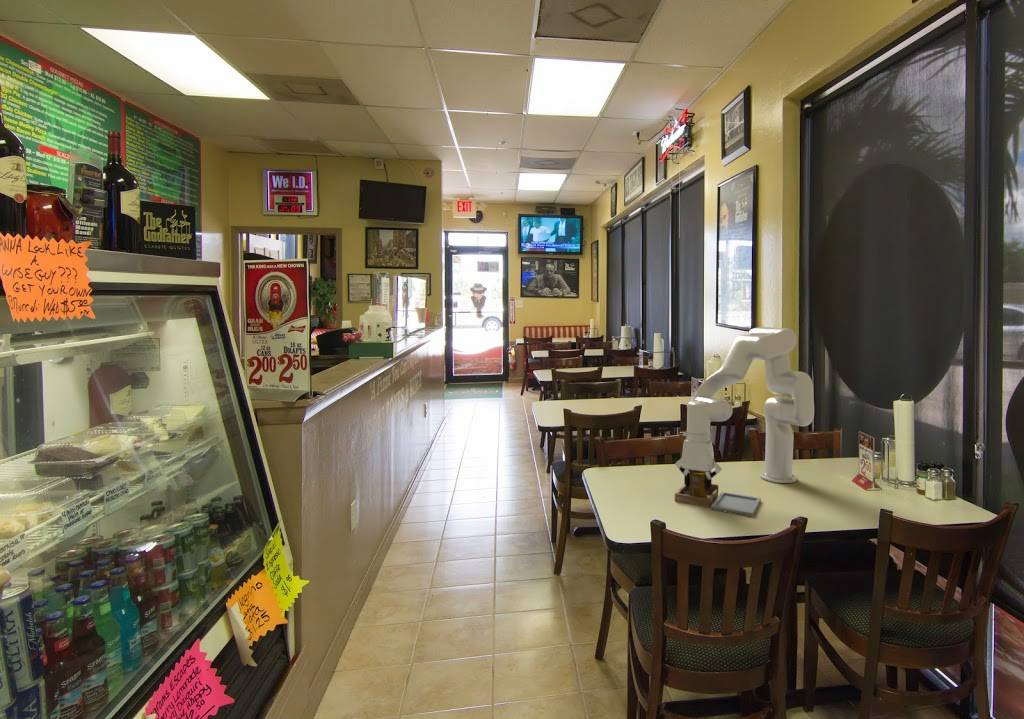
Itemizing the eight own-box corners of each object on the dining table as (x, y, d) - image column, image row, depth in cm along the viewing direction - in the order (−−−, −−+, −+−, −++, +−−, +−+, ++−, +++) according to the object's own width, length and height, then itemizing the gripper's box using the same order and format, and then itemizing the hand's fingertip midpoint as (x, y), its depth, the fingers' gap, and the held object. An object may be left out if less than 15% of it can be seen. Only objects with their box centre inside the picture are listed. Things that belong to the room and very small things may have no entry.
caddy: (684, 490, 198) (685, 479, 197) (718, 495, 192) (718, 484, 191) (674, 500, 187) (674, 489, 187) (709, 507, 181) (709, 495, 181)
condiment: (712, 497, 189) (713, 463, 188) (697, 502, 184) (697, 468, 183) (695, 492, 195) (695, 459, 194) (679, 497, 190) (679, 463, 189)
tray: (722, 494, 192) (722, 491, 192) (760, 501, 186) (760, 498, 186) (711, 509, 179) (711, 505, 179) (752, 516, 172) (752, 513, 172)
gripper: (670, 436, 189) (669, 486, 191) (722, 442, 180) (721, 495, 181) (676, 432, 195) (675, 480, 197) (727, 437, 186) (726, 488, 188)
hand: (697, 487), depth 189 cm, fingers closed on condiment, 6 cm apart
